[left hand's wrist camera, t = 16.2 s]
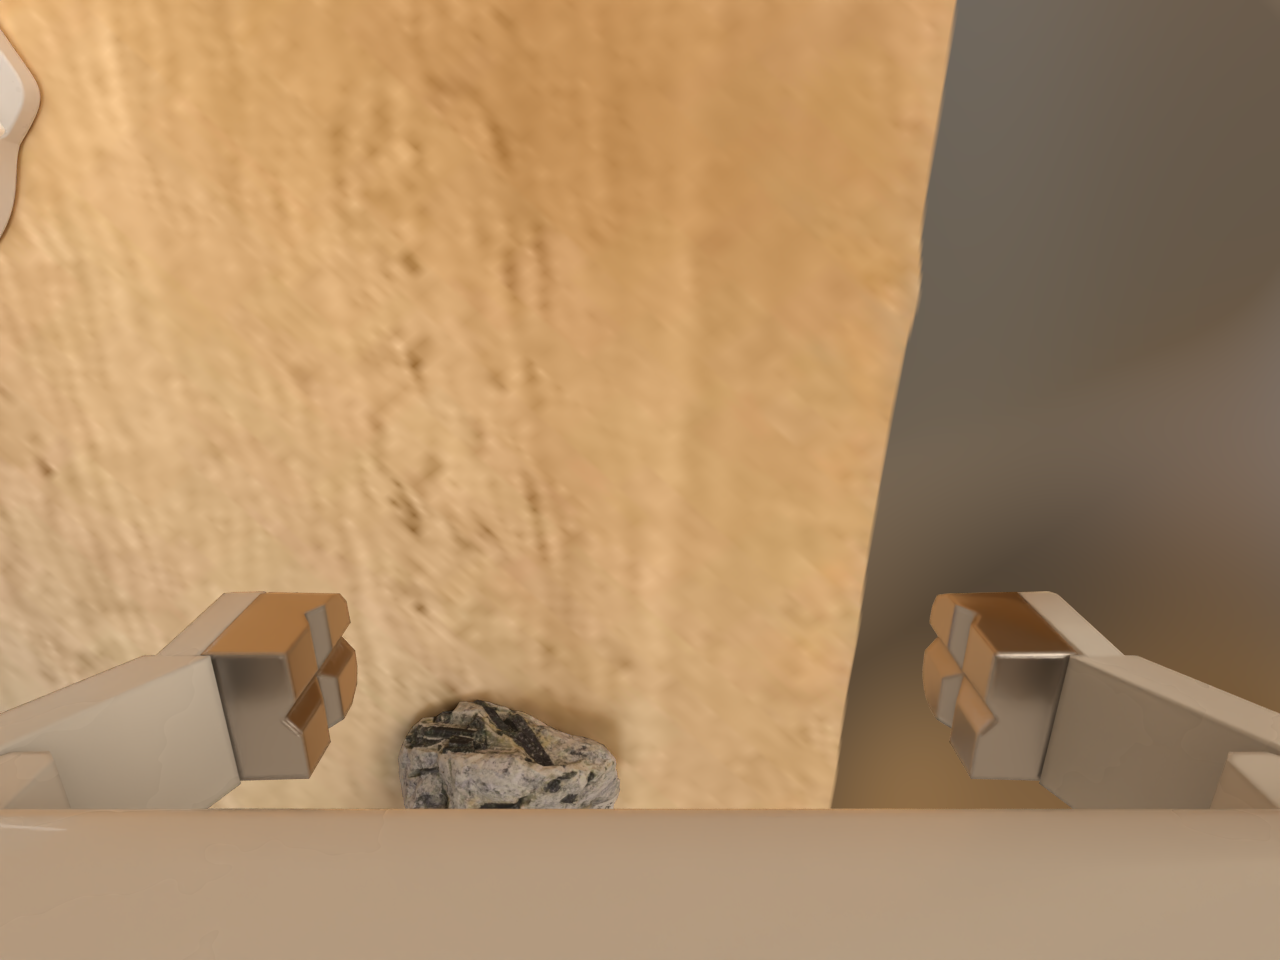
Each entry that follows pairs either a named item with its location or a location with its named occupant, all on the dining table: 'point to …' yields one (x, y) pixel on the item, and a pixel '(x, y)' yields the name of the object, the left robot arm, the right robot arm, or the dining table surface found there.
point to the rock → (502, 763)
